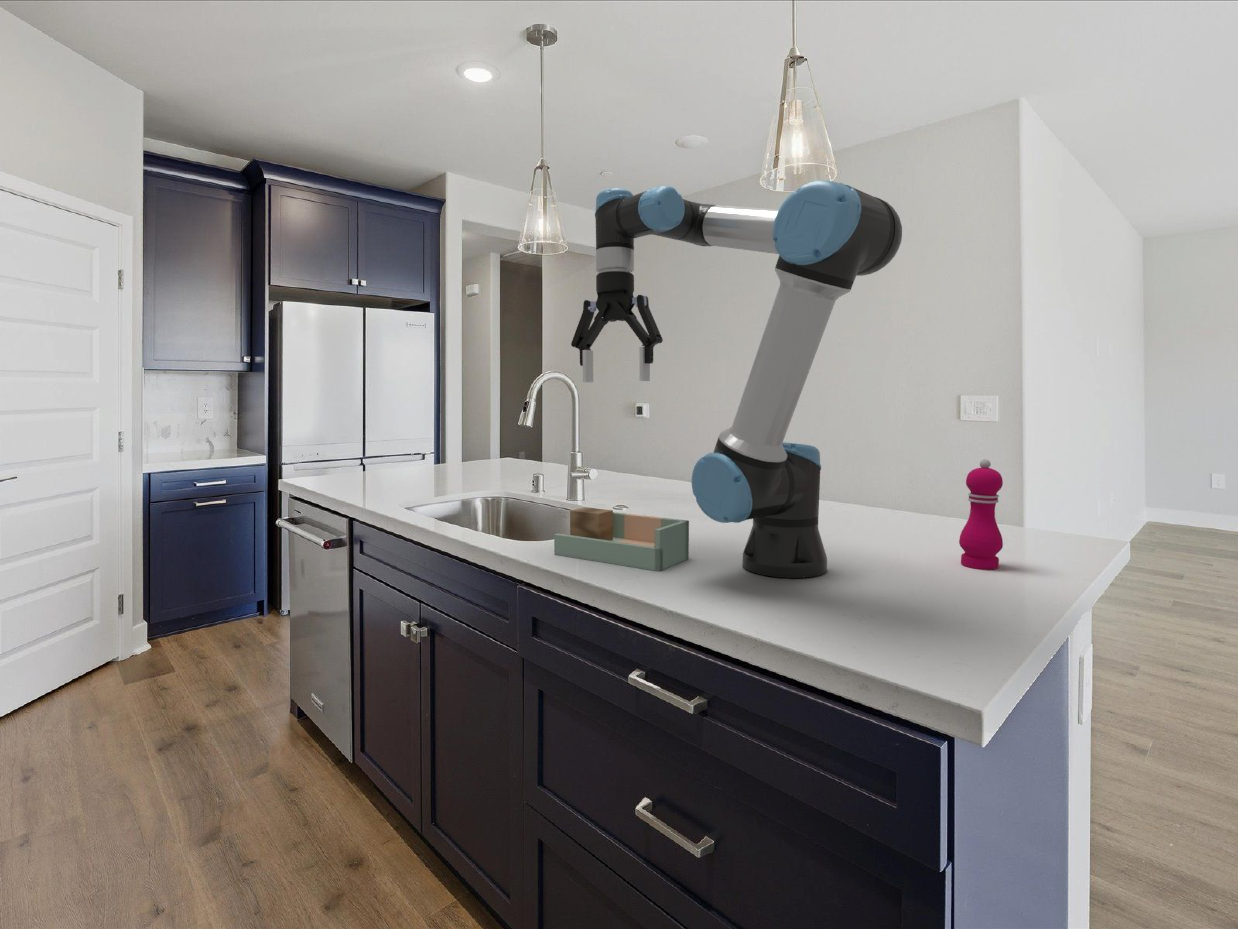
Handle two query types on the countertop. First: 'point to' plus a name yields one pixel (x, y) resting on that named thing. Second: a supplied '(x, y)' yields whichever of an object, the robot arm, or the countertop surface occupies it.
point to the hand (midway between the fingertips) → (615, 381)
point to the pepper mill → (982, 519)
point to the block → (592, 523)
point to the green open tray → (632, 543)
